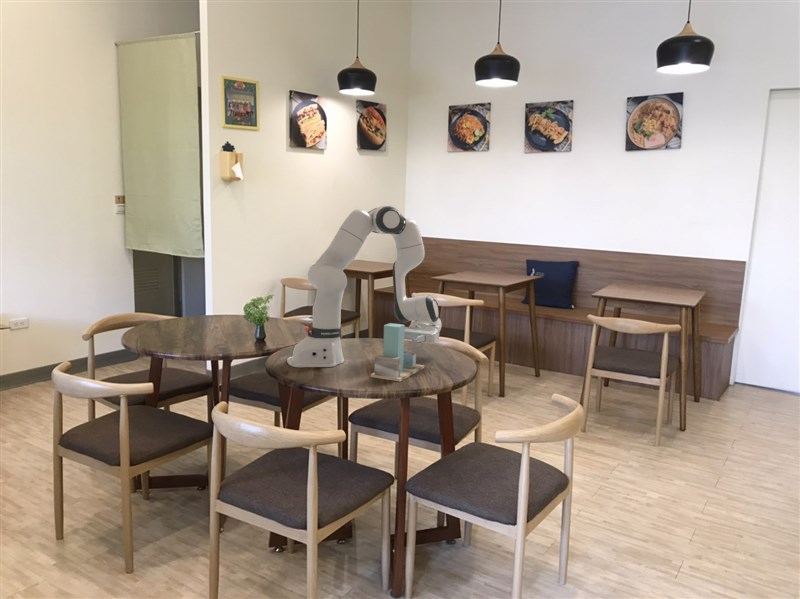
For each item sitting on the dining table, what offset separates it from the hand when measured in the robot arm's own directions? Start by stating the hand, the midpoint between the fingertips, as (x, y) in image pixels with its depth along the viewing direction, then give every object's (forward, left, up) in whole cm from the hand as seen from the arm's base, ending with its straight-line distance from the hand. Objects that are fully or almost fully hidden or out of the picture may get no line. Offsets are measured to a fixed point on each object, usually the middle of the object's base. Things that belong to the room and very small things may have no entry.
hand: (404, 338), depth 245 cm
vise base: (-4, -3, -12) cm, 13 cm away
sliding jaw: (0, 0, -11) cm, 11 cm away
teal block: (-7, -6, -11) cm, 15 cm away
